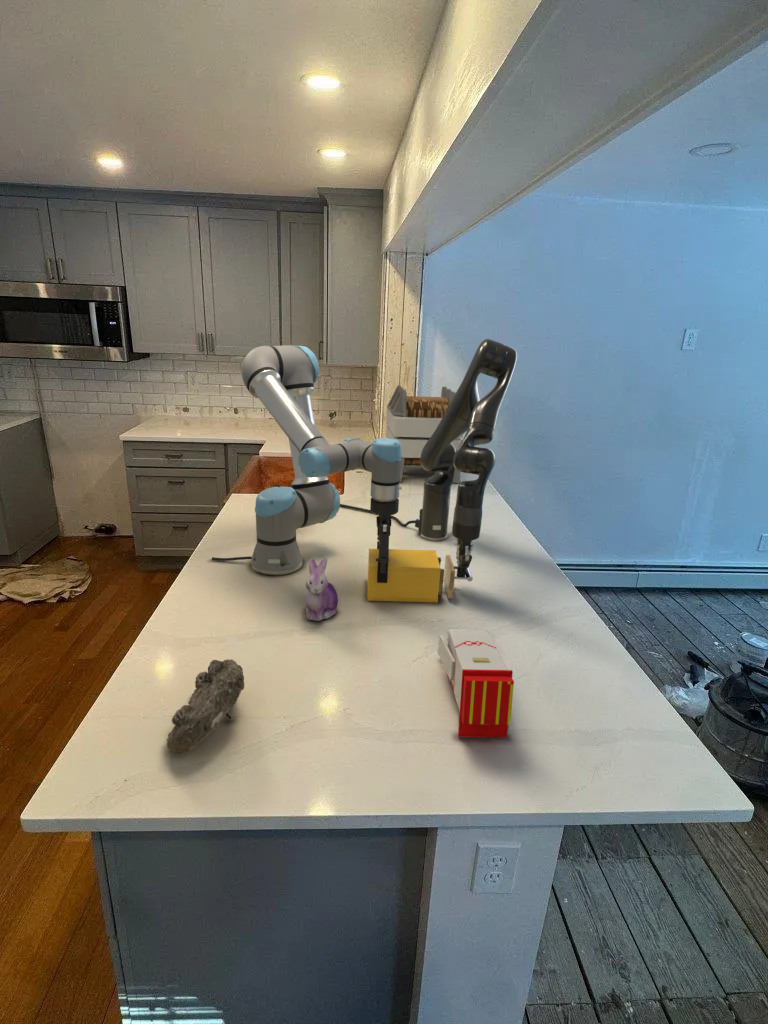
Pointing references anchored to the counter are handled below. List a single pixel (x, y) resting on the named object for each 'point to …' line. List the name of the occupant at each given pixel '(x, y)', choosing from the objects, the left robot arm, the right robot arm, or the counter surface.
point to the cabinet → (405, 576)
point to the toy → (478, 682)
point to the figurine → (320, 593)
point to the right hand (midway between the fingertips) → (460, 577)
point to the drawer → (450, 576)
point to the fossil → (206, 705)
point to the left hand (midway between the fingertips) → (381, 572)
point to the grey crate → (416, 423)
